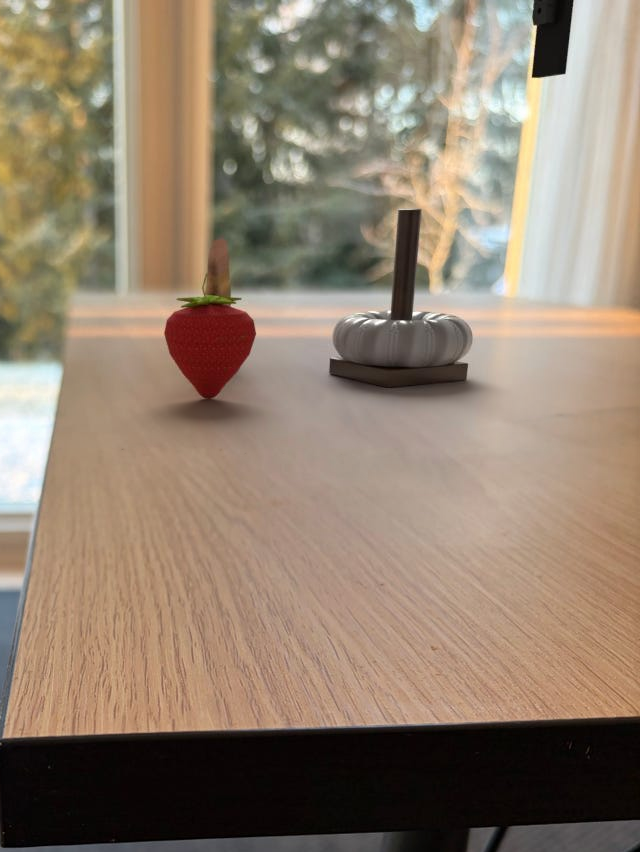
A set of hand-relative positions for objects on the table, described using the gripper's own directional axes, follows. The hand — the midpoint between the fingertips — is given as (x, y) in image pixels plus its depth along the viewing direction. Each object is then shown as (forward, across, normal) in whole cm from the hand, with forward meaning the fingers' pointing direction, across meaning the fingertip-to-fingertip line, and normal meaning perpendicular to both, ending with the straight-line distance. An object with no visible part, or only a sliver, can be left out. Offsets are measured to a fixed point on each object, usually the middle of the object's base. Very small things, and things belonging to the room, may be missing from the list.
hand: (614, 78), depth 82 cm
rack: (+24, +9, -13) cm, 28 cm away
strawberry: (+24, +30, -10) cm, 40 cm away
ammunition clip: (+24, +22, -24) cm, 40 cm away
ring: (+20, +9, -12) cm, 26 cm away
